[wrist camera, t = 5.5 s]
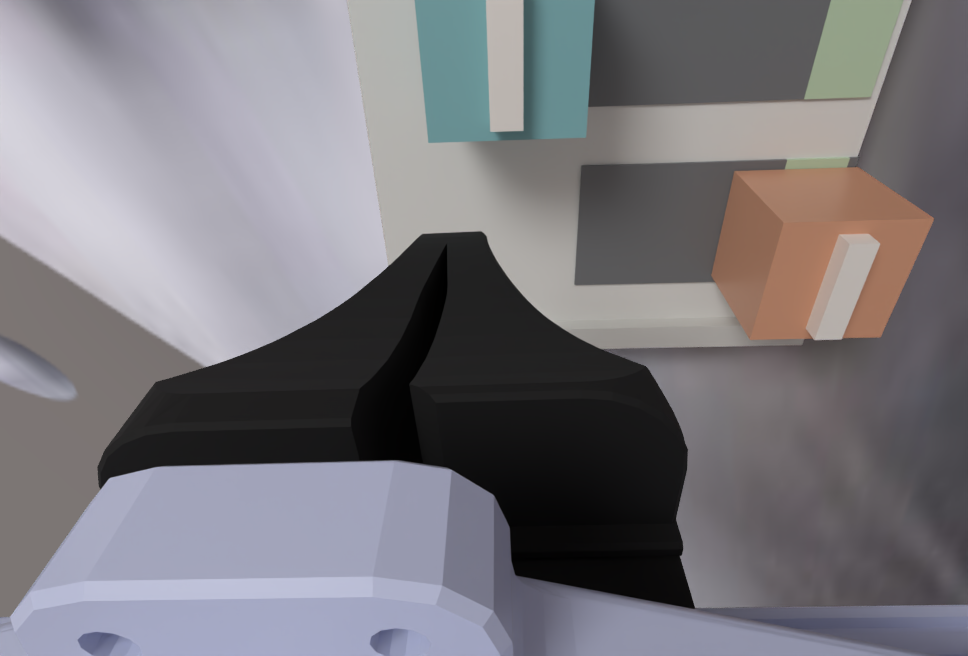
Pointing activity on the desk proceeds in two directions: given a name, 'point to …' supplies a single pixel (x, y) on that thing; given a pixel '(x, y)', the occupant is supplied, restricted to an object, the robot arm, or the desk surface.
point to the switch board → (632, 153)
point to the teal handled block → (505, 68)
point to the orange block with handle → (815, 252)
